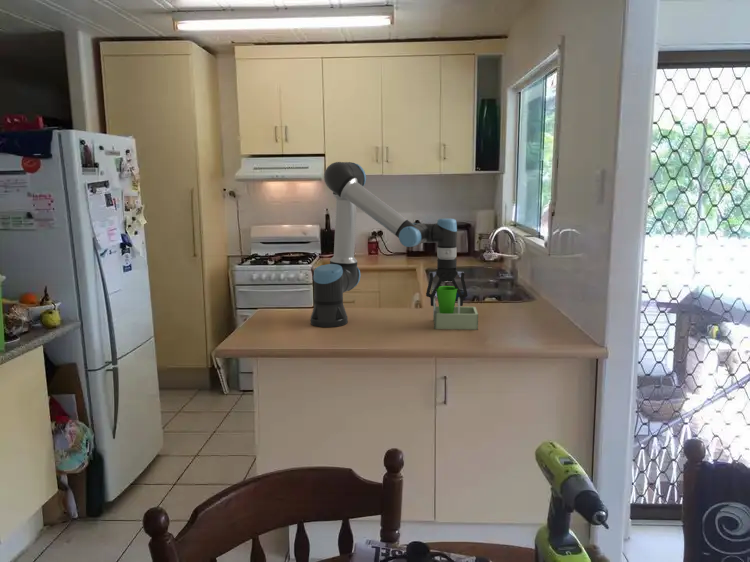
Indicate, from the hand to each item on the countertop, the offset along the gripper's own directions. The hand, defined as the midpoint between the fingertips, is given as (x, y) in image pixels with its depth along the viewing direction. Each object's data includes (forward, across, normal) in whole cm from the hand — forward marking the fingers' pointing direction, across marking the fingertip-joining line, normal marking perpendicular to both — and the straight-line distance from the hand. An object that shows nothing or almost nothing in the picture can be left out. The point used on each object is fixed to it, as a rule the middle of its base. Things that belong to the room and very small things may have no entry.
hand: (446, 313), depth 235 cm
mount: (+4, +3, 0) cm, 6 cm away
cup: (+1, 0, 0) cm, 1 cm away
